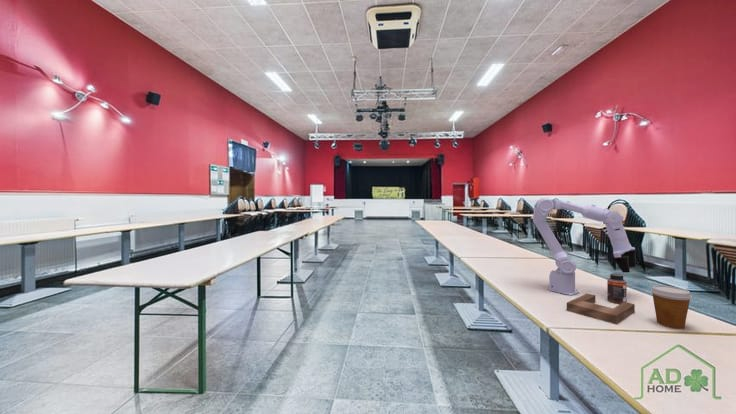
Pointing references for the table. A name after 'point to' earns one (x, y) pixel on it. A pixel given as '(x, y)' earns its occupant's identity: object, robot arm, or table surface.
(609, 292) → the supplement bottle
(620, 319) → the brown u-shaped wooden block
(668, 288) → the disposable coffee cup
